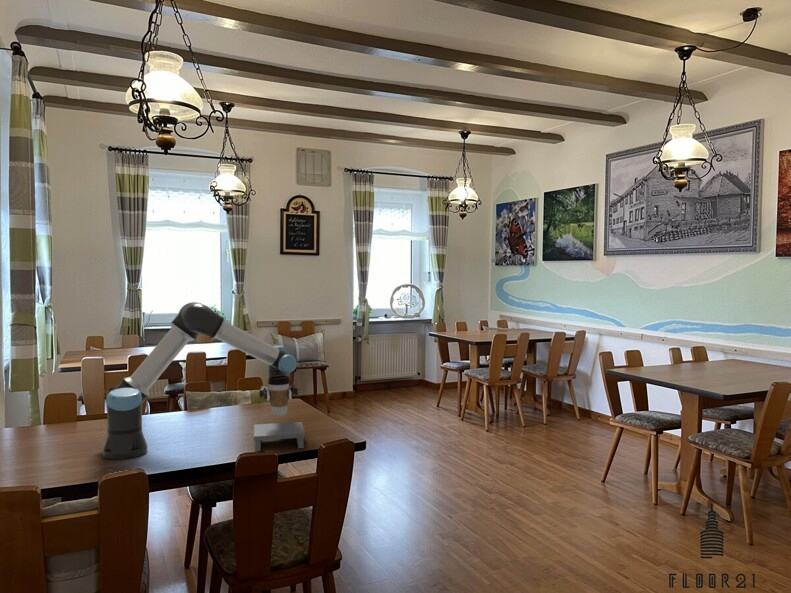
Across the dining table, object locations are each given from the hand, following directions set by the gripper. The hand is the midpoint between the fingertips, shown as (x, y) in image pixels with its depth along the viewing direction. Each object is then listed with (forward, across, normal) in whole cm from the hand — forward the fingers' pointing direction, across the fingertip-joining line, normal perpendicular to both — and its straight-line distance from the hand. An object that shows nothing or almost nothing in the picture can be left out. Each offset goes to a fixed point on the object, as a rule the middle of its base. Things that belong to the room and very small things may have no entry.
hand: (279, 396), depth 222 cm
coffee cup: (-5, 0, -8) cm, 10 cm away
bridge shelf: (-5, 0, -20) cm, 20 cm away
